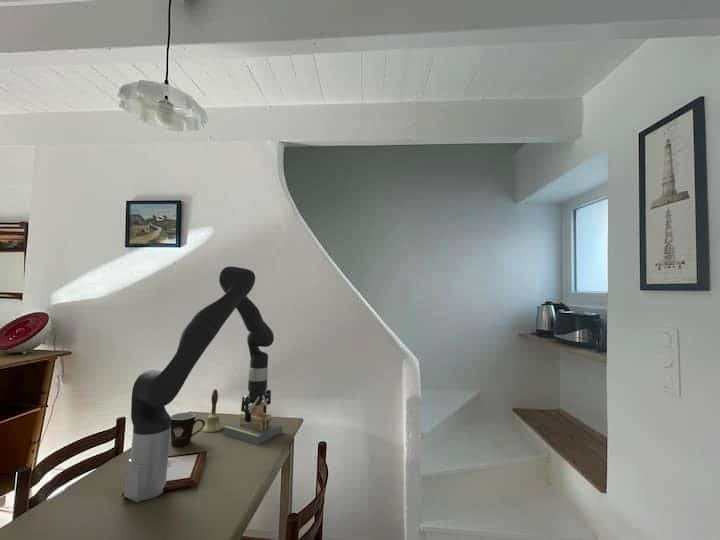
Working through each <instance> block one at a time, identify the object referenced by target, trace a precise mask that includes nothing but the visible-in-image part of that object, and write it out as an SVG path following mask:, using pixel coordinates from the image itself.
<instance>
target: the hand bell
mask: <svg viewBox="0 0 720 540" xmlns="http://www.w3.org/2000/svg"><path fill="white" fill-rule="evenodd" d="M210 398H211V399H210V400H211V411H210V414H209V415H208V416H207V418H206V421H205V426H204V427H203V426H202V427H203V429H202V430H201V432H204V433H215V432H216V431H217V432H219V430H220V431H222V430H223V429H224V426H223V425H222V424H221V422H220V416H219V414H218V413H217V412H216V411H217V403H218V401H219V393H218V389H213V391H212V394H211V397H210ZM222 428H223V429H222ZM221 429H222V430H221Z"/></svg>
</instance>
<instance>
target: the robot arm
mask: <svg viewBox="0 0 720 540" xmlns="http://www.w3.org/2000/svg"><path fill="white" fill-rule="evenodd" d="M218 282H219V286H220V287H221V289H222V291H223V292H224V294H223V295H222V296H220V298H217V300H214V301H213V302H211V303H209V304H208V305H206V306H204V307H202V308H201V309H199V310H198V311H197V312H196V313H195V314H194V315H193V317H192V318H191V319H190V320H189V321H188V323H187V324H186V325H185V326H184V328H183V330H182V332H181V335H180V338H179V342H178V346H177V350H176V352H175V354H174V355H173V357H172V358H171V360H169V363H168V364H167V365H166V366H165V368H163V370H162V371H161V370H157V369H155V370H153V369H151V370H146V371H144V372H142V373H141V374H140V375H138V377H137V378H136V379H135V381H134V384H133V387H132V392H131V405H130V406H131V410H130V419H131V423H132V426H133V427H132V440H131V451H130V459H128V460H127V461H126V469H125V470H126V471H125V481H124V490H123V491H124V492H123V496H124V497H125V498H127V499H128V500H131V501H132V502H134V503H139V502H142V501H147V500H151V499H154V498H157V497H158V496H160V495H162V494H163V493H164V492H163V488H164V486H165V484H166V485H167V476H168V475H167V474H168V462H169V461H168V460H169V448H170V438H171V427H170V425H171V415H170V414H169V413H168V412H167V410H166V407H165V406H167V405H169V404H170V403H171V402H172V401H174V400H175V398H176V397H177V396H178V395H179V393H180V391H181V389H182V388H183V386H184V384H185V382H186V381H187V379H188V376H189V375H190V374H191V372H192V370H193V368H194V367H195V366H196V364H197V363H198V361H199V359H200V358H201V357H202V355H203V354H204V352H205V351H206V349H207V348H208V346H209V345H210V344H211V343H212V342H213V340H214V338H215V337H216V336H217V335H218V333H219V332H220V330H221V328H222V327H223V326H224V324H225V322H226V321H227V320H228V319H229V317H230V316H231V315H232V313H233V312H234V311H235V310H237V312H238V313H239V316H240V318H241V320H242V322H243V324H244V326H245V328H246V330H247V332H248V334H247V335H246V336H247V337H246V340H247V346H248V350H249V351H248V352H249V357H250V362H249V372H248V384H247V391H248V395H242V397H241V405H240V406H241V408H240V411H241V412H242V413H244V412H245V421H246V422H248V423H249V422H251V411H252V409H253V408H254V407H255V405H257V404H260V403H262V404H264V407H263V413H266V414H267V408H268V406H269V405H271V403H272V399H271V398H272V391H271V389H268V376H269V375H268V374H269V370H268V368H269V367H268V366H269V354H268V353H267V352H264V351H262V350H261V349H260V348H262V347H263V348H268V347H270V346H271V345H273V343H274V340H275V336H274V332H273V330H272V329H271V328H270V326H269V325H267V323H266V322H265V321H264V319H263V316H262V314H261V312H260V310H259V308H258V307H257V305H255V303H254V302H253V301H252V300H251V299H250V298H249V297H248V295H249V293H250V292H251V291H252V290H253V288H254V285H255V283H256V275H255V273H254V271H253V270H251V269H247V268H245V267H239V266H230V265H229V266H226V267H223V269H222V270H221V272H220V273H219V277H218ZM249 407H250V408H249Z"/></svg>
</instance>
